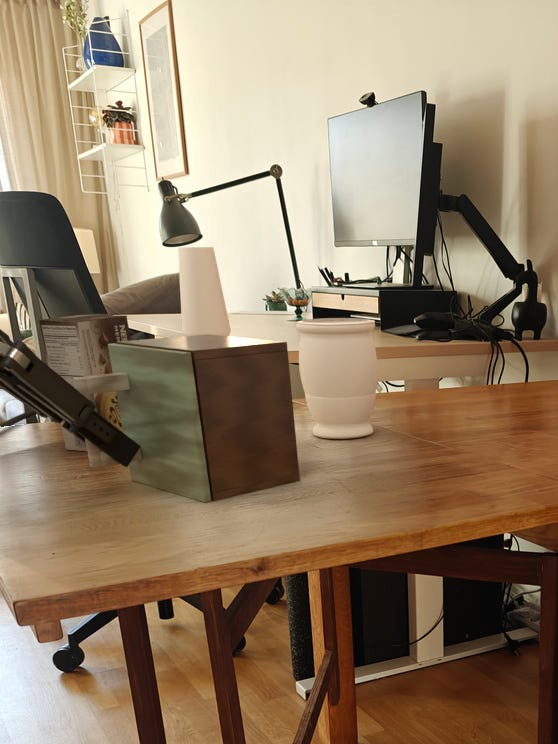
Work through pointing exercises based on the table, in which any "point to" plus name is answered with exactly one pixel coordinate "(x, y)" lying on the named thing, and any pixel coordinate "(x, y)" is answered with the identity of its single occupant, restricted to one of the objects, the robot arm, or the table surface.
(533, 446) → the table surface
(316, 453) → the table surface
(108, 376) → the cupboard door
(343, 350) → the jar
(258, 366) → the cupboard
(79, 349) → the coffee box
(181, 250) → the white tapered column
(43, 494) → the table surface
